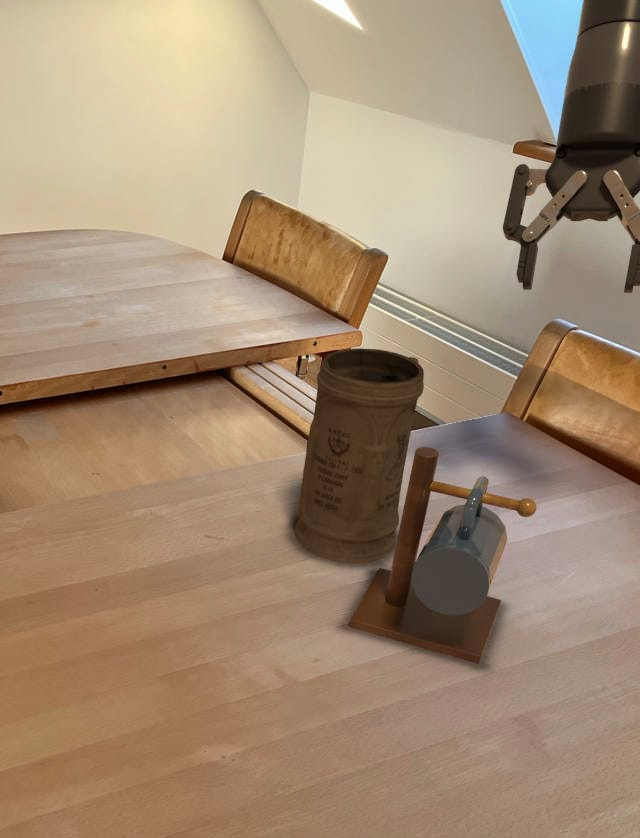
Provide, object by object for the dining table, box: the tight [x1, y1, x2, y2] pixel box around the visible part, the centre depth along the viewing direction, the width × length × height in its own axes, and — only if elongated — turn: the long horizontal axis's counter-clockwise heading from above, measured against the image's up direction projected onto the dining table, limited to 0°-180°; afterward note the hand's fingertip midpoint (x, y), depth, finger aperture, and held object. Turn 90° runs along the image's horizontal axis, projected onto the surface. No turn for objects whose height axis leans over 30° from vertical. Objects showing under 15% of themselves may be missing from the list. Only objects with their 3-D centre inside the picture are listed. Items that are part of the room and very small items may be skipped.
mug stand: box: [348, 446, 537, 665], centre depth 87 cm, size 13×10×17 cm
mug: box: [411, 475, 508, 615], centre depth 84 cm, size 10×6×9 cm
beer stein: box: [293, 347, 425, 565], centre depth 99 cm, size 15×11×20 cm
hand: (576, 289), depth 87 cm, fingers open, 8 cm apart
